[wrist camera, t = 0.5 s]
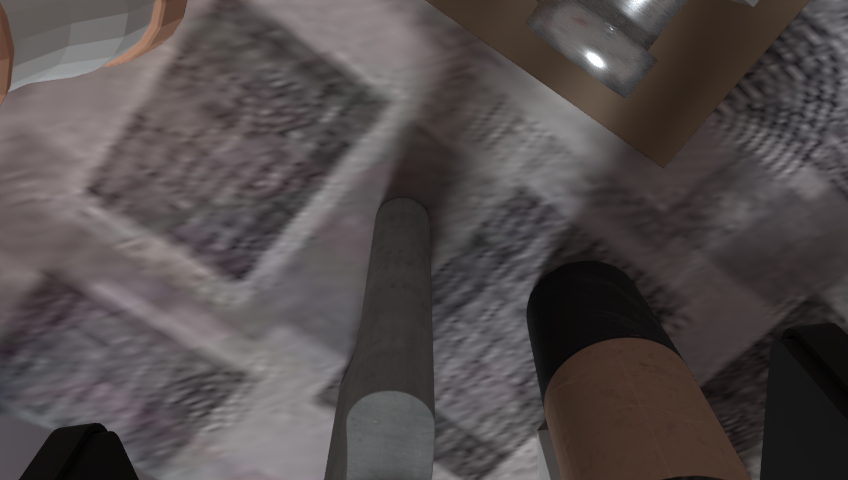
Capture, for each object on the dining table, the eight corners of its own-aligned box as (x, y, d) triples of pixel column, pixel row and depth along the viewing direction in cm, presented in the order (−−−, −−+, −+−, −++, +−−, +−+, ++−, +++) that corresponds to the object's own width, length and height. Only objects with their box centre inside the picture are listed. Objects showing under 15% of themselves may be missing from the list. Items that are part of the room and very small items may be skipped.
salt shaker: (17, -92, 32) (-438, -93, 15) (165, -111, 32) (-130, -134, 15) (69, 61, 36) (-260, 203, 18) (204, 45, 35) (-2, 174, 18)
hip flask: (381, 192, 39) (347, 433, 21) (449, 206, 39) (474, 455, 21) (335, 405, 46) (281, 725, 28) (394, 415, 46) (378, 736, 28)
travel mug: (602, 232, 40) (749, 494, 22) (665, 318, 43) (842, 613, 25) (497, 300, 42) (554, 590, 24) (563, 378, 45) (659, 691, 27)
